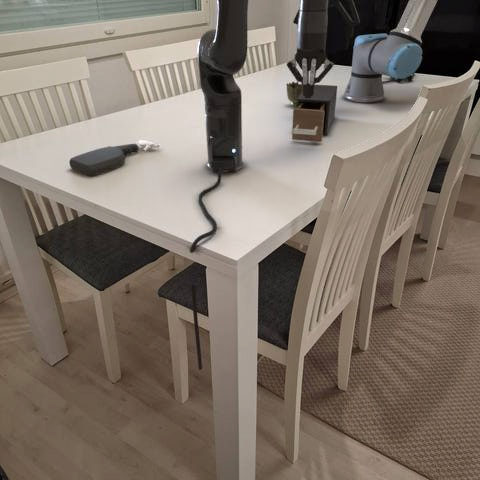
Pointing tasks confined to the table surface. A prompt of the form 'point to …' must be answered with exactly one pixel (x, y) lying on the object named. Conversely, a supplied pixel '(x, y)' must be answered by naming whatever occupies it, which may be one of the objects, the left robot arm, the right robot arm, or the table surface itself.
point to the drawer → (309, 121)
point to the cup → (294, 92)
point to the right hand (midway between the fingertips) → (324, 48)
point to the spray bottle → (106, 157)
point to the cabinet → (323, 96)
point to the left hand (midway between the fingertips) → (307, 97)
